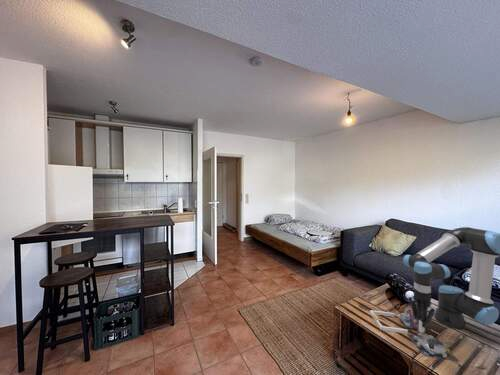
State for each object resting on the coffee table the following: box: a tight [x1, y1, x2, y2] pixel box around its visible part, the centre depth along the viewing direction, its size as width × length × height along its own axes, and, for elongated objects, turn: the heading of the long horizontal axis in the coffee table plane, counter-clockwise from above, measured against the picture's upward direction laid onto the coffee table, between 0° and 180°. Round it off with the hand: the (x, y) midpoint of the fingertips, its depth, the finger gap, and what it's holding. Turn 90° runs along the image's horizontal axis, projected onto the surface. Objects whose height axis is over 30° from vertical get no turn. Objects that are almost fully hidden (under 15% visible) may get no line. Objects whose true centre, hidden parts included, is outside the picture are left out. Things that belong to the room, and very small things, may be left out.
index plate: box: [406, 333, 460, 363], centre depth 113 cm, size 16×16×1 cm
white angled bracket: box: [369, 309, 409, 335], centre depth 132 cm, size 15×17×4 cm
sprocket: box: [413, 332, 451, 358], centre depth 113 cm, size 15×15×6 cm
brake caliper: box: [397, 308, 419, 329], centre depth 131 cm, size 11×11×12 cm
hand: (421, 331), depth 114 cm, fingers closed
